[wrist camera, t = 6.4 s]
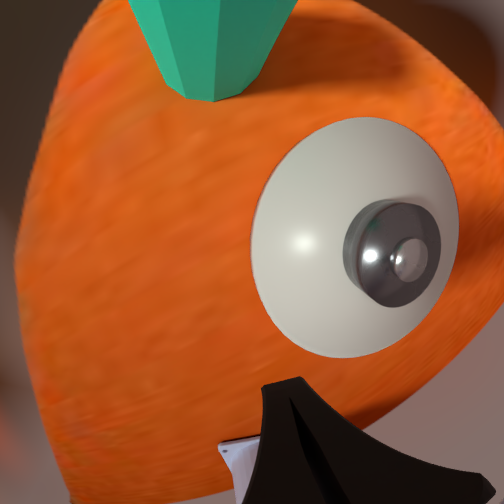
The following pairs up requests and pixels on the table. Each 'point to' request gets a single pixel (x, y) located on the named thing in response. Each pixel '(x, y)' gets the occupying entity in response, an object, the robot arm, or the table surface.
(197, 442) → the table surface
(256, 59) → the candle
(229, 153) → the table surface
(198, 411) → the table surface
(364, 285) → the cover
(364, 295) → the cream flat disc
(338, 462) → the robot arm
